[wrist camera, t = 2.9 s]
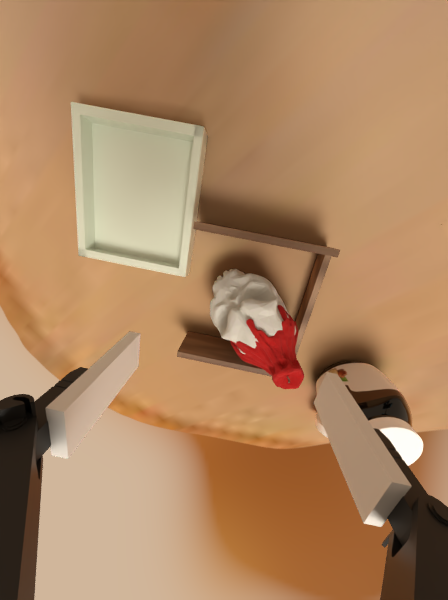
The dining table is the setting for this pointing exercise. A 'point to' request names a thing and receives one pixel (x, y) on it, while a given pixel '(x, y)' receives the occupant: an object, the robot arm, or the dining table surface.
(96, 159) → the sage tray
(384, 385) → the spread jar
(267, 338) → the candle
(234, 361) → the walnut holder
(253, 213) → the dining table surface
